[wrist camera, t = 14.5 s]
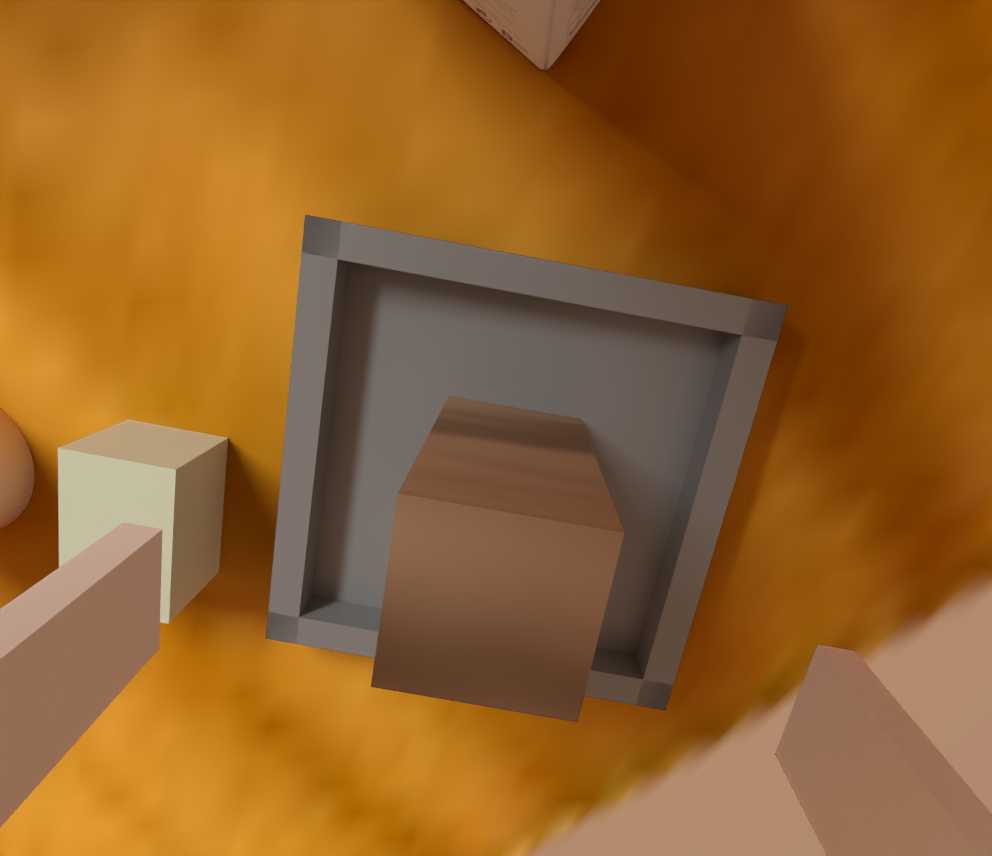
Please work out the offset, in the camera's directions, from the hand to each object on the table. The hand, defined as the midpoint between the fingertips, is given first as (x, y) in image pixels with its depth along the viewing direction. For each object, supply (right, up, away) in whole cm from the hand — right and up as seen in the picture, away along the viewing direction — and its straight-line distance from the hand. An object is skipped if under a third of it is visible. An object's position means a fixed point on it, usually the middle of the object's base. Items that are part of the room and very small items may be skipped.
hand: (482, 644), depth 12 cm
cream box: (-13, +1, +13) cm, 18 cm away
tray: (+1, +3, +12) cm, 12 cm away
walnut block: (+1, +3, +11) cm, 12 cm away
